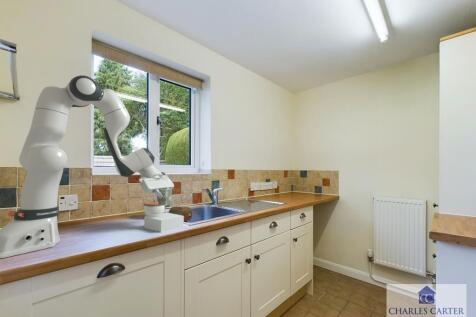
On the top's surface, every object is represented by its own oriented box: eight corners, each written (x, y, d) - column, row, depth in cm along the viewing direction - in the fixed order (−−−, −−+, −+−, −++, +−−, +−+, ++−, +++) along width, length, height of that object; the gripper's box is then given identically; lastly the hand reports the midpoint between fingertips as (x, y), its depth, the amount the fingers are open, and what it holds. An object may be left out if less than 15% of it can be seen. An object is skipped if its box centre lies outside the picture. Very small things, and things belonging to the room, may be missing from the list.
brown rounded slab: (168, 220, 134) (168, 206, 134) (170, 219, 137) (171, 205, 137) (191, 222, 130) (191, 207, 131) (193, 221, 133) (194, 206, 134)
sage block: (165, 205, 116) (165, 190, 116) (158, 205, 118) (158, 189, 118) (171, 204, 120) (171, 189, 121) (164, 203, 122) (164, 188, 122)
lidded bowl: (144, 215, 145) (144, 198, 146) (164, 214, 149) (165, 198, 149) (142, 220, 133) (142, 201, 134) (164, 219, 137) (165, 200, 137)
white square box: (160, 233, 109) (161, 220, 109) (144, 228, 117) (144, 216, 117) (183, 227, 120) (183, 215, 120) (166, 223, 128) (166, 212, 128)
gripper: (140, 173, 113) (155, 194, 108) (167, 173, 131) (181, 190, 127) (133, 182, 114) (148, 203, 110) (161, 180, 133) (174, 198, 129)
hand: (166, 196), depth 119 cm, fingers closed on sage block, 5 cm apart
